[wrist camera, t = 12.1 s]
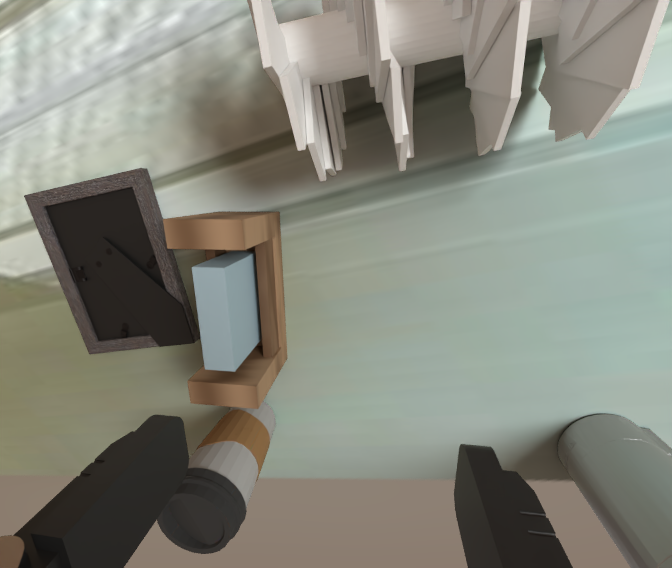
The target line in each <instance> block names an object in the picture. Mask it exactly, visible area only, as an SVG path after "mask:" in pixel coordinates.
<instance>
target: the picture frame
mask: <svg viewBox="0 0 672 568" xmlns="http://www.w3.org/2000/svg"><path fill="white" fill-rule="evenodd" d="M24 197H25V199H26V202H27V204H28V206H29V209H30V211H31V214H32V216H33V218H34V221H35V223H36V226H37V228H38V231H39V233H40V235H41V238H42V240H43V243H44V245H45V248H46V250H47V252H48V255H49V257H50V260H51V262H52V265H53V267H54V269H55V272H56V274H57V277H58V279H59V282H60V284H61V286H62V289H63V291H64V294H65V296H66V299H67V301H68V303H69V306H70V308H71V311H72V313H73V316H74V318H75V320H76V323H77V325H78V328H79V330H80V332H81V335H82V337H83V340H84V342H85V345H86V347H87V349H88V352H89V354H96V353H105V352H113V351H122V350H130V349H139V348H147V347H156V346H159V347H161V346H171V345H181V344H191V343H195V342H196V341H197V340H199V339H200V336H199V333H198V330H197V326H196V323H195V320H194V317H193V314H192V310H191V307H190V304H189V301H188V298H187V295H186V291H185V288H184V285H183V282H182V279H181V275H180V272H179V269H178V266H177V263H176V259H175V256H174V253H173V250H172V249H167V243H166V237H165V230H164V223H163V218H162V215H161V212H160V208H159V205H158V202H157V199H156V196H155V192H154V189H153V186H152V183H151V180H150V176H149V173H148V170H147V169H144V168H139V169H135V170H131V171H126V172H122V173H118V174H114V175H109V176H105V177H101V178H97V179H92V180H88V181H84V182H80V183H75V184H71V185H67V186H63V187H58V188H54V189H50V190H46V191H41V192H37V193H33V194H29V195H24Z"/></svg>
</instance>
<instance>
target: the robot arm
mask: <svg viewBox="0 0 672 568" xmlns="http://www.w3.org/2000/svg"><path fill="white" fill-rule="evenodd" d="M558 455H559V458H560V460H561V462H562V464H563V465H564V467H565V468H566V470H567V471H568V473H569V474H570V476H571V477H572V479H573V480H574V482H575V484H576V485H577V487H578V488H579V490H580V491H581V493H582V494H583V496H584V497H585V499H586V500H587V502H588V504H589V505H590V507H591V508H592V510H593V511H594V513H595V514H596V516H597V517H598V519H599V520H600V522H601V523H602V525H603V526H604V528H605V529H606V531H607V532H608V534H609V535H610V537H611V538H612V540H613V541H614V543H615V544H616V546H617V548H618V549H619V551H620V552H621V554H622V555H623V557H624V558H625V560H626V561H627V563H628V564H629V566H630V567H631V568H672V449H671V448H670V447H669V446H668V445H667V444H666V443H665V442H664V441H662V440H661V439H660V438H659V437H658V436H657V435H656V434H655V433H653V432H652V431H651V430H650V429H645V428H640V427H638V426H637V425H636V424H634V423H633V422H632V421H630V420H628V419H626V418H624V417H621V416H617V415H610V414H599V415H593V416H588V417H585V418H583V419H580V420H578V421H576V422H575V423H573V424H572V425H570V426H569V427H568V428H567V429H566V430H565V431H564V433H563V434H562V436H561V437H560V440H559V443H558ZM188 465H189V455H188V449H187V443H186V437H185V431H184V425H183V421H182V419H181V418H180V417H175V416H164V415H153V416H151V417H150V418H148V419H147V420H146V421H145V422H144V423H143V424H142V425H141V426H140V427H139V428H138V429H137V430H136V431H135V432H130V433H129V434H127V435H125V436H124V437H122V438H120V439H119V440H117V441H116V442H114V443H112V444H111V445H110V446H109V447H108V448H107V449H106V450H104V451H103V452H102V453H101V454H100V455H99V456H98V457H97V458H96V459H95V461H94V463H91V464H90V465H88V466H87V467H86V468H85V469H84V470H83V471H82V472H81V474H80V476H77V477H76V478H75V479H74V480H73V481H72V482H70V483H69V484H68V485H67V486H66V487H65V488H64V489H63V490H62V491H61V492H60V493H59V494H57V495H56V496H55V497H54V498H53V499H52V500H51V501H50V502H49V503H48V504H47V505H46V506H45V507H44V508H43V509H41V510H40V511H39V512H38V513H37V514H36V515H35V516H34V517H33V518H32V519H31V520H30V521H29V522H27V523H26V524H25V525H24V526H23V527H22V528H21V529H20V530H19V531H18V532H17V533H15V534H14V535H13V536H12V535H8V536H1V537H0V568H124V566H125V565H126V563H127V562H128V560H129V559H130V557H131V556H132V555H133V553H134V552H135V550H136V549H137V547H138V546H139V544H140V543H141V541H142V540H143V539H144V537H145V536H146V534H147V533H148V531H149V530H150V528H151V527H152V525H153V524H154V523H155V521H156V520H157V518H158V517H159V515H160V514H161V512H162V511H163V509H164V508H165V507H166V505H167V504H168V502H169V501H170V499H171V498H172V496H173V495H174V493H175V492H176V491H177V489H178V488H179V486H180V485H181V483H182V482H183V480H184V478H185V476H186V473H187V470H188ZM454 500H455V511H456V517H457V521H458V526H459V530H460V534H461V539H462V543H463V547H464V552H465V556H466V561H467V565H468V568H573V567H572V565H571V563H570V561H569V559H568V557H567V555H566V553H565V551H564V549H563V547H562V545H561V543H560V542H559V539H558V538H556V536H555V532H554V529H553V527H552V525H551V523H550V521H549V519H548V518H546V515H545V512H544V510H543V508H542V506H541V503H540V501H539V500H538V498H537V496H536V494H535V492H534V490H533V489H532V488H531V487H530V486H529V485H528V484H527V483H526V482H525V481H524V480H523V479H522V478H521V476H520V475H519V474H518V473H517V472H513V471H504V470H502V468H501V466H500V464H499V461H498V459H497V457H496V454H495V452H494V450H493V449H492V448H491V447H487V446H476V445H465V444H461V445H460V448H459V455H458V463H457V472H456V480H455V489H454Z"/></svg>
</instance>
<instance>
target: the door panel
mask: <svg viewBox="0 0 672 568" xmlns="http://www.w3.org/2000/svg"><path fill="white" fill-rule="evenodd" d="M192 273H193V281H194V289H195V297H196V304H197V312H198V320H199V327H200V335H201V343H202V351H203V358H204V366H205V369H206V370H219V371H233V372H235V371H236V370H237V368H238V367H239V366H240V365H241V363H242V362H243V361H244V360H245V359H246V357H247V356H248V355H249V354H250V352H251V351H252V350H253V349H254V348H255V346H256V345H257V344H258V343H259V341H260V340H261V339H262V331H261V318H260V304H259V291H258V278H257V265H256V252H255V251H230V252H228V253H225V254H223V255H220V256H218V257H215V258H213V259H210V260H208V261H205V262H203V263H200V264H198V265H195V266H193V267H192Z"/></svg>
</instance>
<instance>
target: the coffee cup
mask: <svg viewBox="0 0 672 568" xmlns="http://www.w3.org/2000/svg"><path fill="white" fill-rule="evenodd" d="M275 425H276V420H275V415H274V412H273V410H272V409H271V407H270V406H269V405H268V404H267V403H266V402H264V401H263V402H262V403H261V405H260V407H259V409H252V408H240V407H232V408H231V409H230V410H229V411H228V412H227V414H226V415H225V416H224V417H223V418H222V419H221V420H220V421H219V422H218V424H217V425H216V426H215V427H214V428H213V430H212V431H211V432H210V433H209V434H208V436H207V437H206V438H205V439H204V440H203V442H202V443H201V444H200V445H199V446H198V448H197V449H196V451H195V452H194V454H193V455H192V456H191V457H190V458H189V465H188V470H187V473H186V476H185V478H184V480H183V482H182V483H181V485H180V486H179V488H178V489H177V491H176V492H175V493H174V495H173V496H172V498H171V499H170V501H169V502H168V504H167V505H166V507H165V508H164V509H163V511H162V512H161V514H160V515H159V517H158V518H157V521H158V524H159V526H160V528H161V530H162V532H163V533H164V534H165V535H166V537H167V538H168V539H169V540H171V541H172V542H173V543H175V544H176V545H177V546H179V547H181V548H183V549H185V550H188V551H191V552H194V553H201V554H208V553H214V552H217V551H220V550H221V549H222V548H224V547H225V546H226V545H227V543H228V542H229V540H230V539H232V538H233V537H234V536H235V535H236V533H237V532H238V530H239V528H240V525H241V524H242V522H243V521H244V519H245V515H246V508H247V505H248V502H249V499H250V497H251V494H252V491H253V488H254V485H255V483H256V481H257V479H258V476H259V474H260V471H261V468H262V465H263V462H264V459H265V457H266V454H267V451H268V448H269V444H270V440H271V438H272V435H273V432H274V429H275Z"/></svg>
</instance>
